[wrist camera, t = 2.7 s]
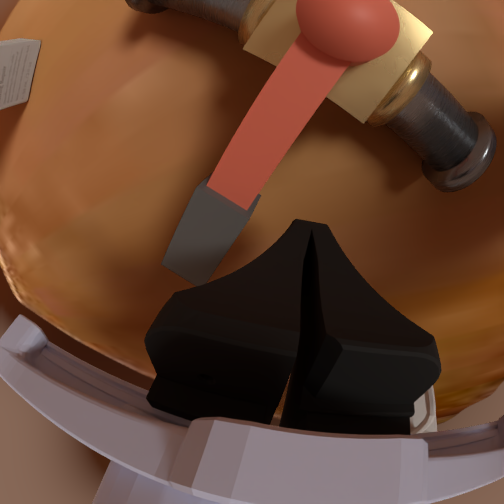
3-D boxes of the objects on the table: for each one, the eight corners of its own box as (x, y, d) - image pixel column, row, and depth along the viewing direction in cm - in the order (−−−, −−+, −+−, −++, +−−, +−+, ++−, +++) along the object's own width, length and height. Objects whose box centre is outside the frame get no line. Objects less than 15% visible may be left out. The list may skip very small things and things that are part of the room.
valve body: (411, 59, 9) (453, 51, 5) (362, 123, 12) (384, 141, 8) (298, -13, 9) (287, -53, 4) (250, 53, 11) (218, 38, 7)
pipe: (464, 116, 10) (511, 134, 6) (420, 172, 13) (453, 207, 9) (198, -43, 8) (158, -71, 4) (159, 16, 11) (108, 4, 7)
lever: (326, -17, 5) (327, -39, 4) (397, 28, 6) (416, 16, 4) (173, 234, 12) (153, 259, 11) (224, 265, 13) (210, 294, 11)
